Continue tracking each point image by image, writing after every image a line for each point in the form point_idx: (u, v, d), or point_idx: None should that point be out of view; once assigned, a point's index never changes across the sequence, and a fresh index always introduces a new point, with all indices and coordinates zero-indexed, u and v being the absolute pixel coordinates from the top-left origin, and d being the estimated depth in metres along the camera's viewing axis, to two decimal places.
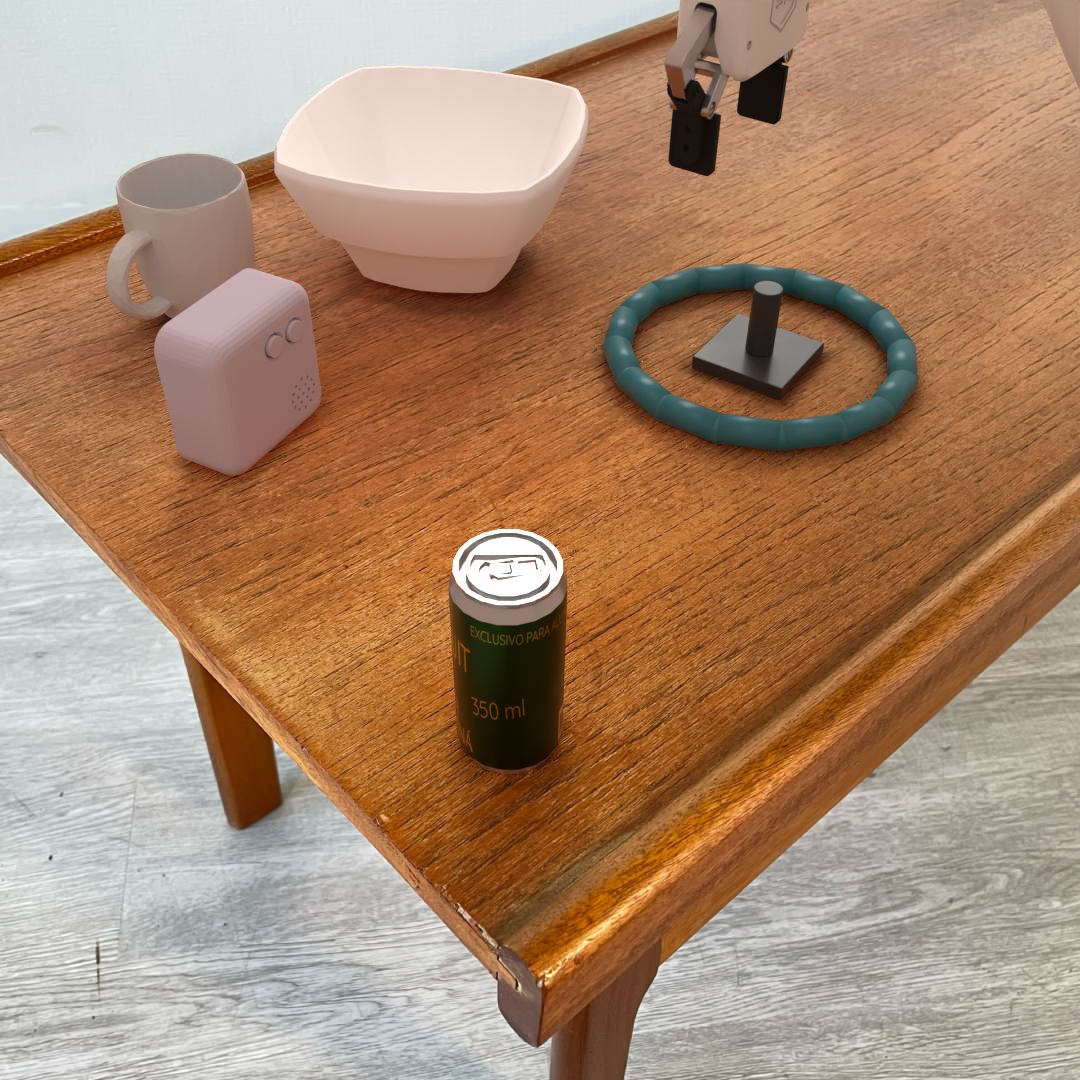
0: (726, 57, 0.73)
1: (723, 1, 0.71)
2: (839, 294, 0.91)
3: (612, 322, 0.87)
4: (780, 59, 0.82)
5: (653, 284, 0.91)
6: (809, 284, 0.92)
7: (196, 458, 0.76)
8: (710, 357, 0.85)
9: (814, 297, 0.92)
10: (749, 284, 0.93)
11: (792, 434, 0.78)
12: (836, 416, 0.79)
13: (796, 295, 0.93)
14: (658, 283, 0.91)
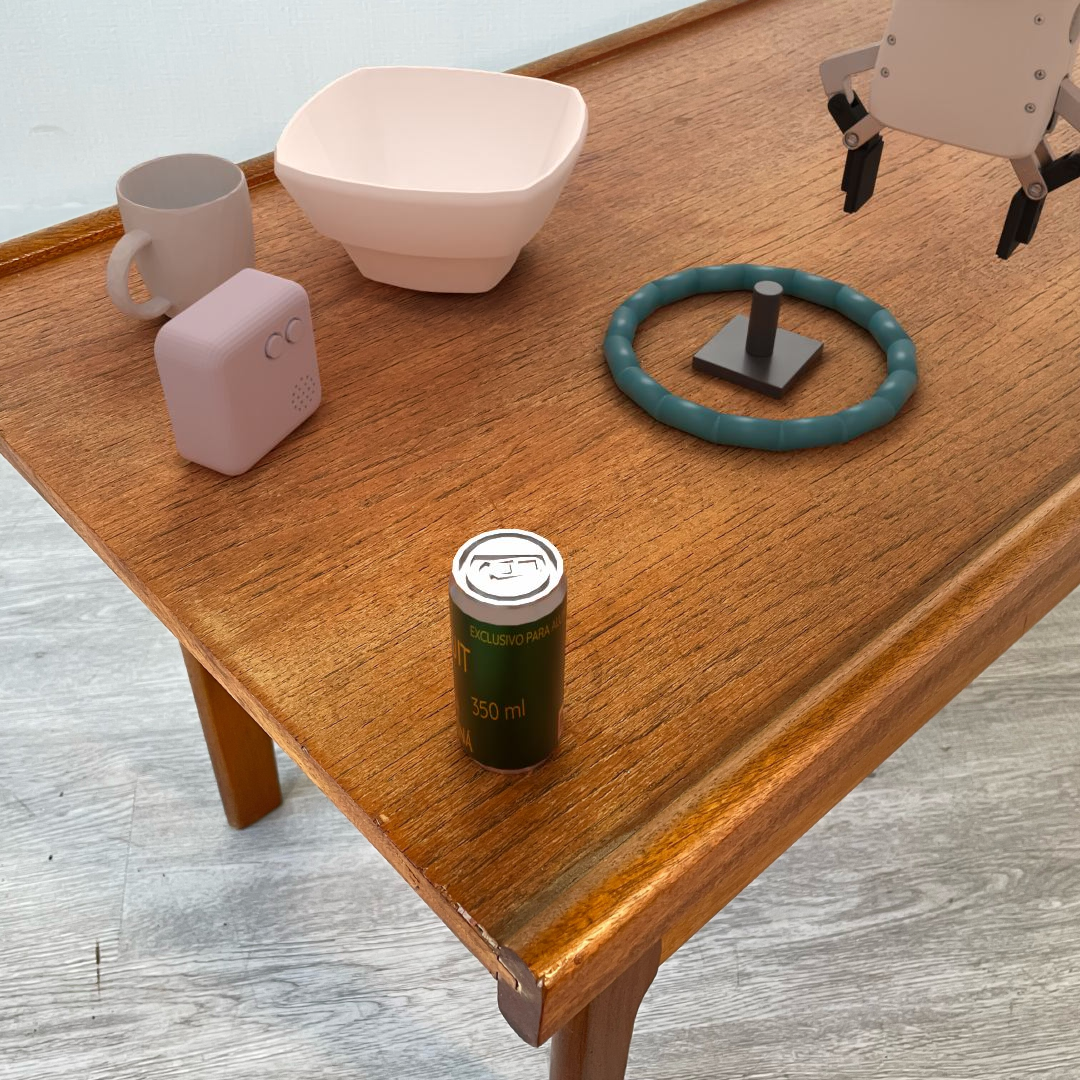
0: (1059, 115, 0.68)
1: (1073, 62, 0.65)
2: (839, 294, 0.91)
3: (612, 322, 0.87)
4: None
5: (653, 284, 0.91)
6: (809, 284, 0.92)
7: (196, 458, 0.76)
8: (710, 357, 0.85)
9: (814, 297, 0.92)
10: (749, 284, 0.93)
11: (792, 434, 0.78)
12: (836, 416, 0.79)
13: (796, 295, 0.93)
14: (658, 283, 0.91)
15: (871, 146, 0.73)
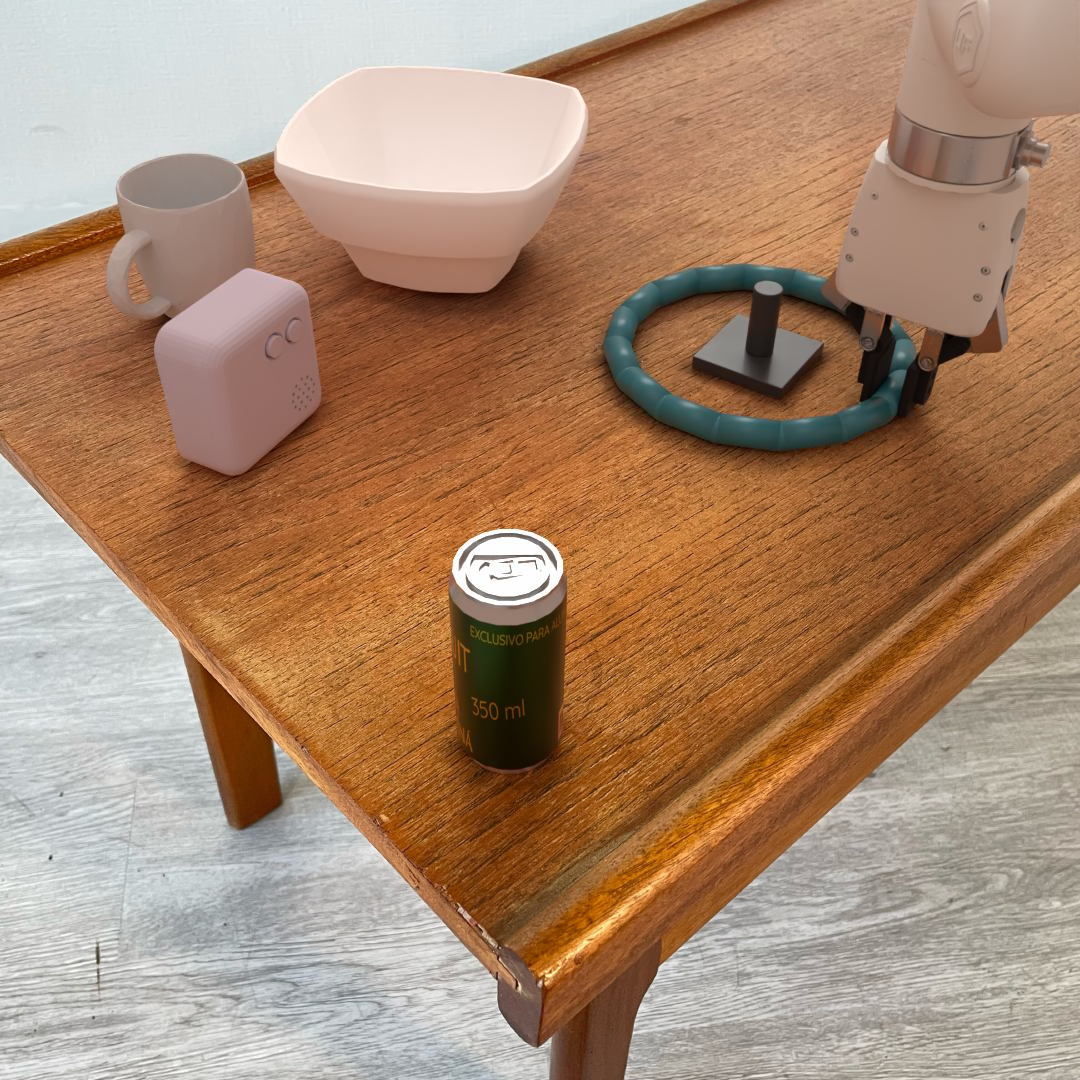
0: (1006, 296, 0.75)
1: (1016, 255, 0.73)
2: None
3: (612, 322, 0.87)
4: None
5: (653, 284, 0.91)
6: (809, 284, 0.92)
7: (196, 458, 0.76)
8: (710, 357, 0.85)
9: (814, 297, 0.92)
10: (749, 284, 0.93)
11: (792, 434, 0.78)
12: (836, 416, 0.79)
13: (796, 295, 0.93)
14: (658, 283, 0.91)
15: (885, 347, 0.80)
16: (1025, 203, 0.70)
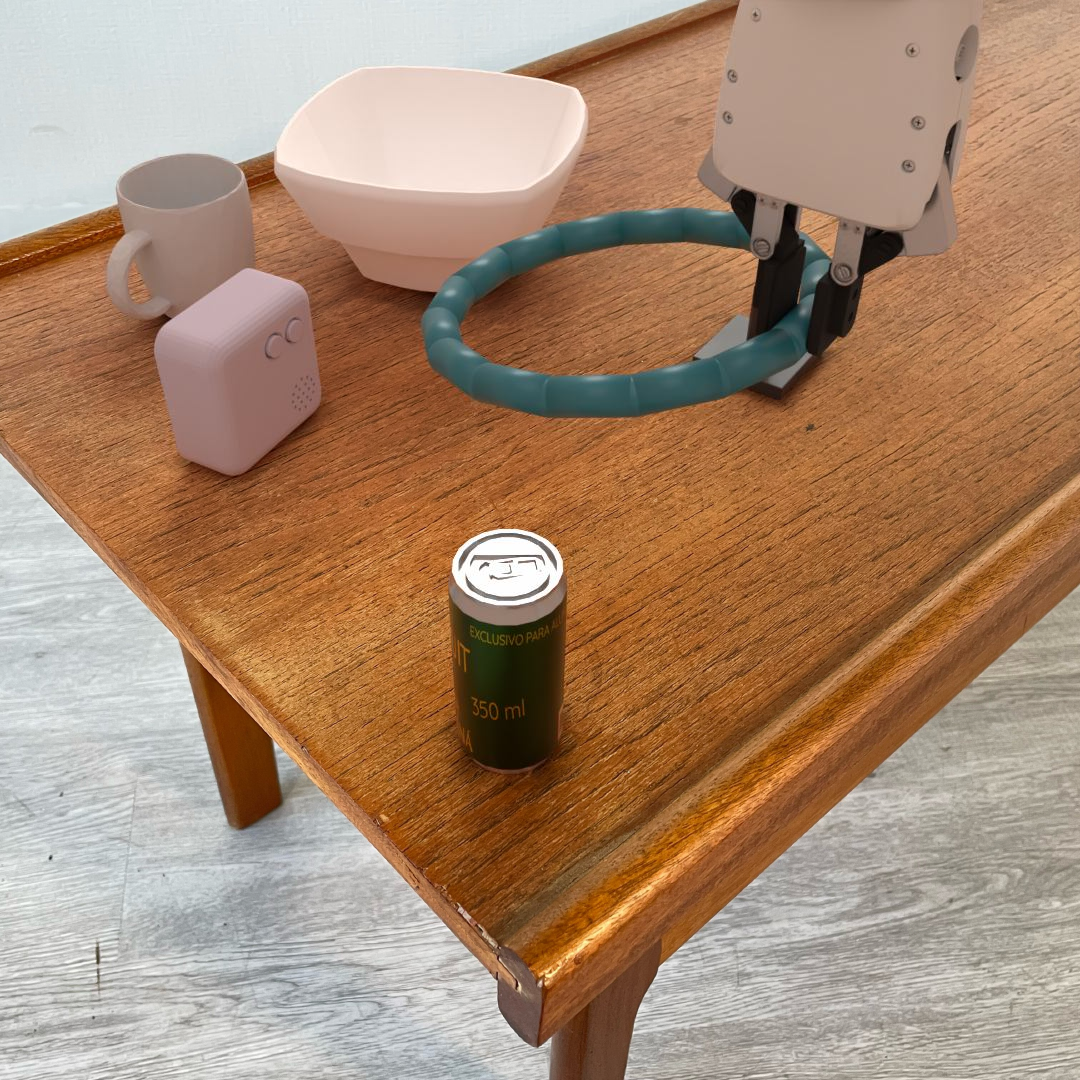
0: (955, 173, 0.52)
1: (967, 106, 0.49)
2: (741, 226, 0.68)
3: (435, 295, 0.67)
4: None
5: (498, 247, 0.70)
6: (703, 221, 0.70)
7: (196, 458, 0.76)
8: None
9: (712, 237, 0.70)
10: (629, 235, 0.72)
11: (647, 388, 0.55)
12: (712, 358, 0.56)
13: (691, 240, 0.71)
14: (505, 246, 0.70)
15: (788, 255, 0.57)
16: (977, 19, 0.47)
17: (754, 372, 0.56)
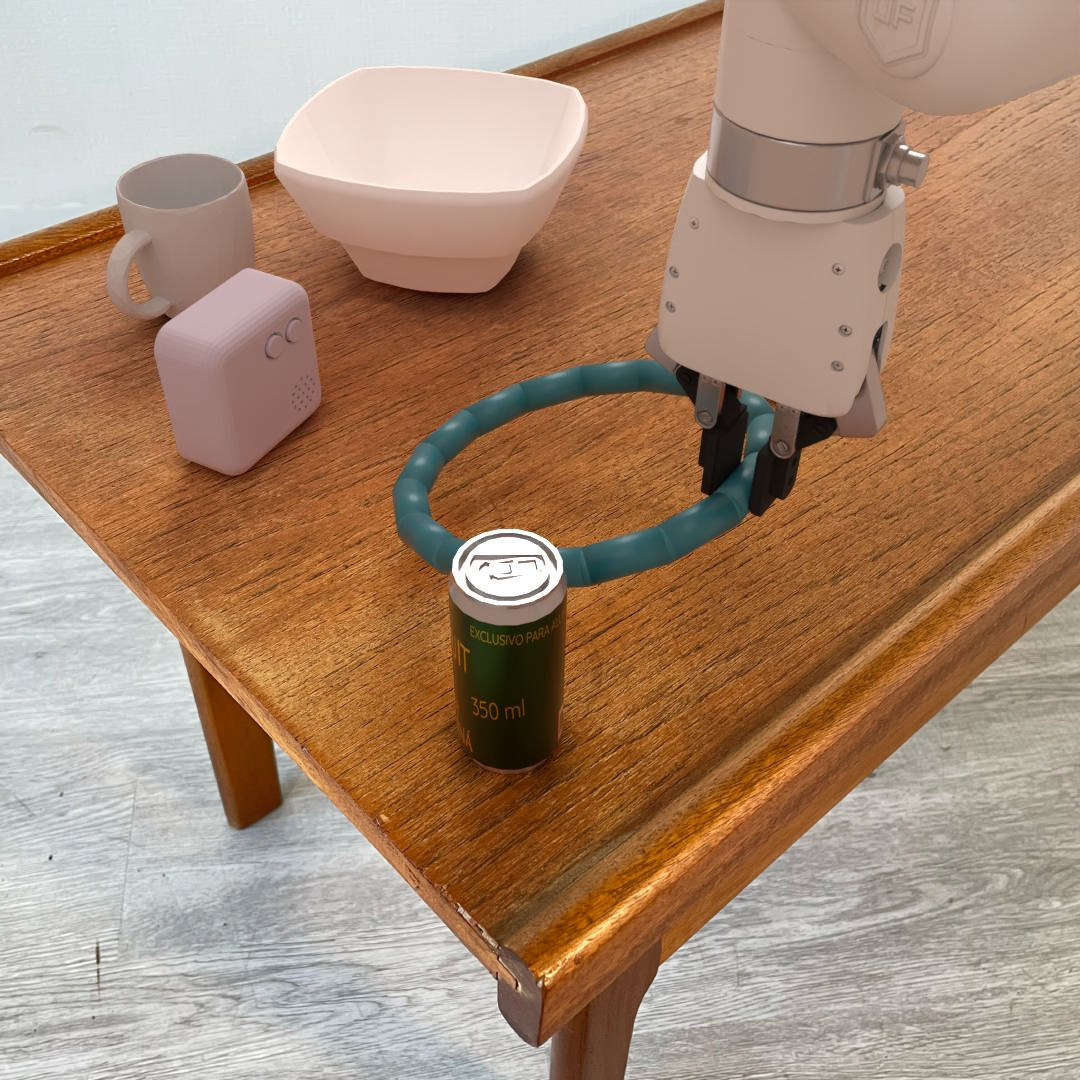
0: (884, 361, 0.55)
1: (892, 307, 0.52)
2: None
3: (406, 464, 0.71)
4: None
5: (465, 410, 0.74)
6: (657, 373, 0.73)
7: (196, 458, 0.76)
8: None
9: (666, 388, 0.73)
10: (590, 388, 0.75)
11: (596, 561, 0.58)
12: (657, 527, 0.59)
13: (648, 390, 0.74)
14: (471, 408, 0.74)
15: (730, 422, 0.60)
16: (899, 236, 0.50)
17: (698, 537, 0.59)
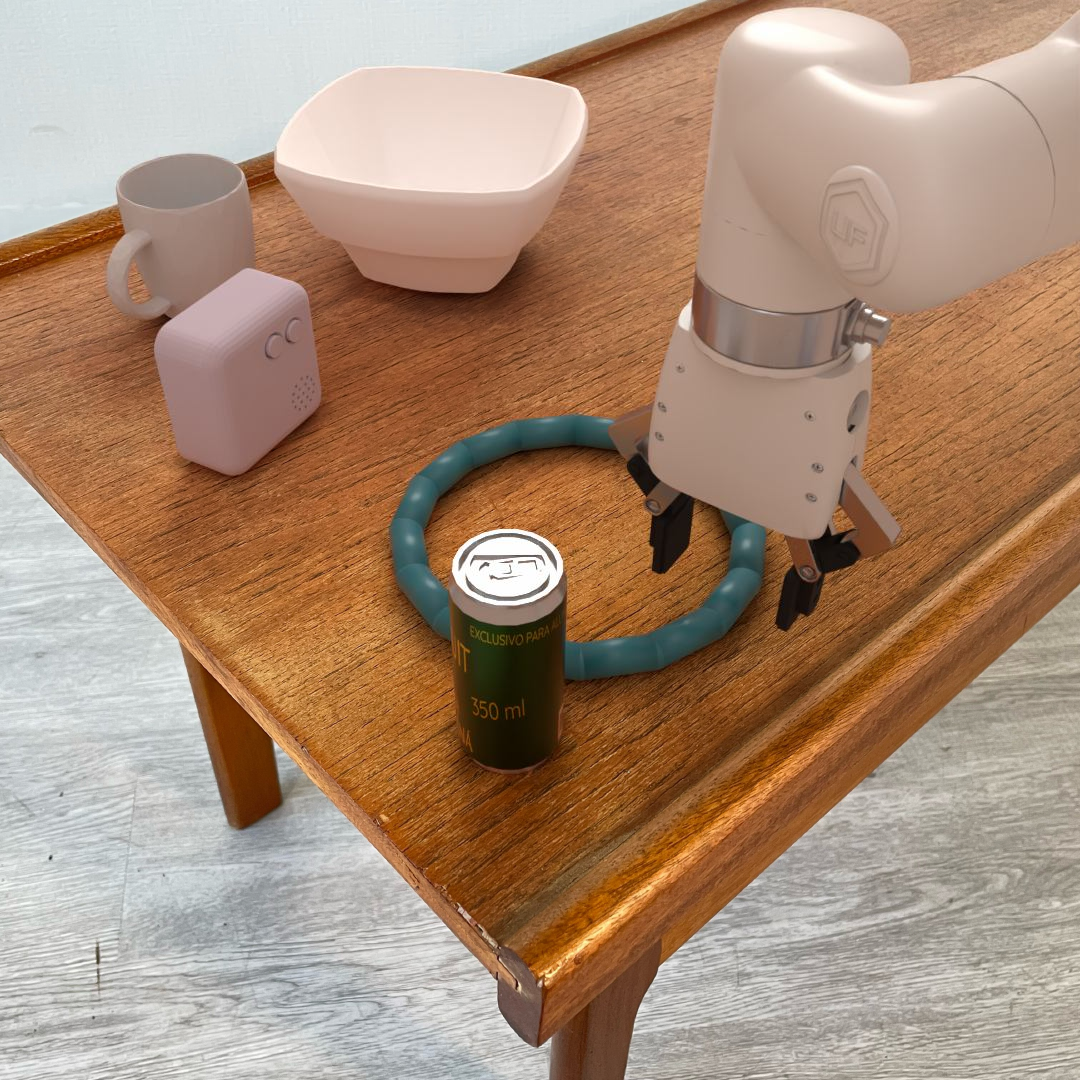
0: None
1: (862, 442, 0.57)
2: None
3: (404, 498, 0.73)
4: None
5: (462, 444, 0.76)
6: None
7: (196, 458, 0.76)
8: None
9: None
10: (582, 440, 0.78)
11: (593, 662, 0.63)
12: (651, 636, 0.64)
13: None
14: (469, 443, 0.76)
15: (677, 509, 0.65)
16: (866, 384, 0.55)
17: (685, 651, 0.64)
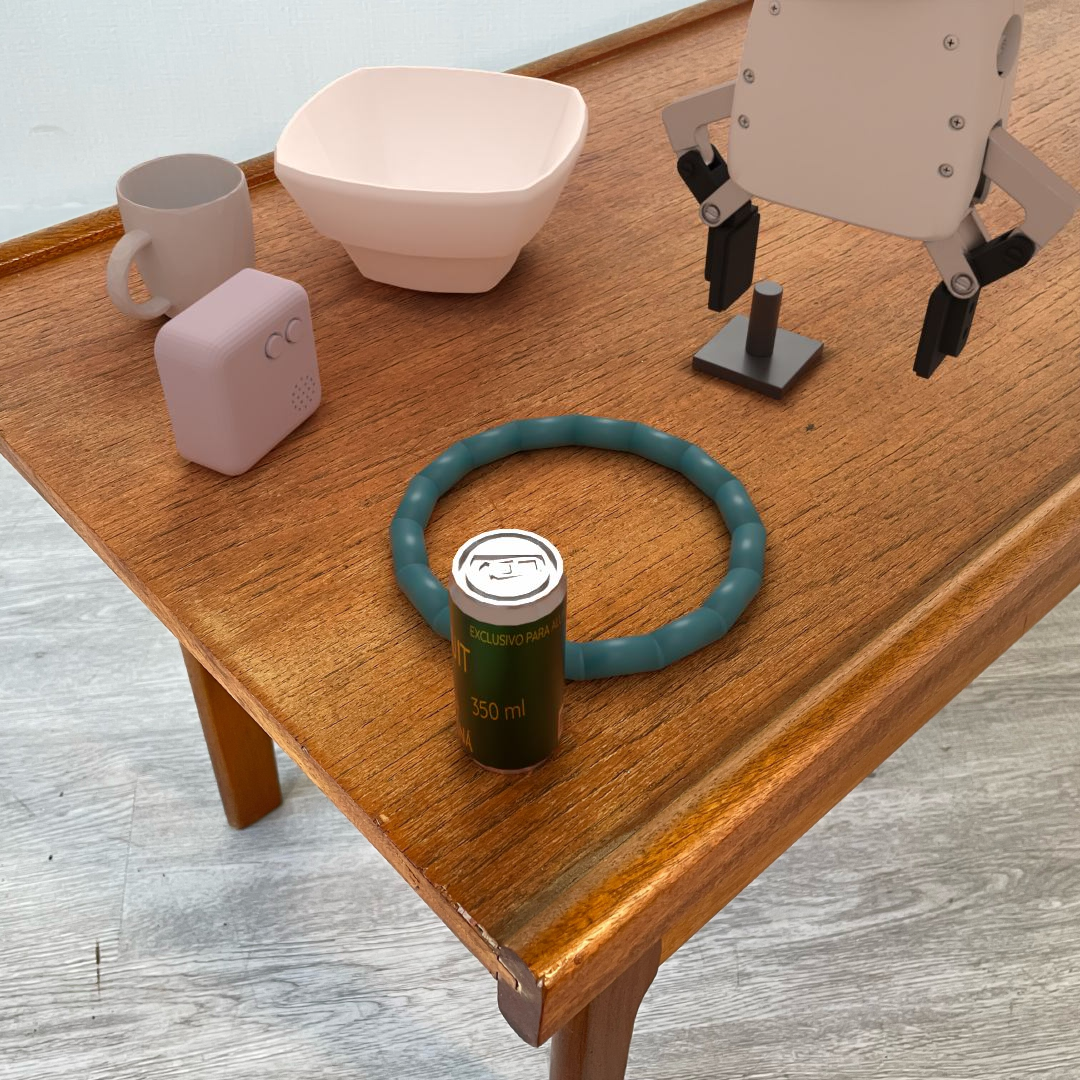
0: None
1: (1008, 103, 0.45)
2: (684, 457, 0.76)
3: (404, 498, 0.73)
4: None
5: (462, 444, 0.76)
6: (650, 443, 0.77)
7: (196, 458, 0.76)
8: (710, 357, 0.85)
9: (656, 458, 0.77)
10: (582, 440, 0.78)
11: (593, 662, 0.63)
12: (651, 636, 0.64)
13: (637, 453, 0.78)
14: (469, 443, 0.76)
15: (740, 221, 0.53)
16: (1020, 7, 0.42)
17: (685, 651, 0.64)
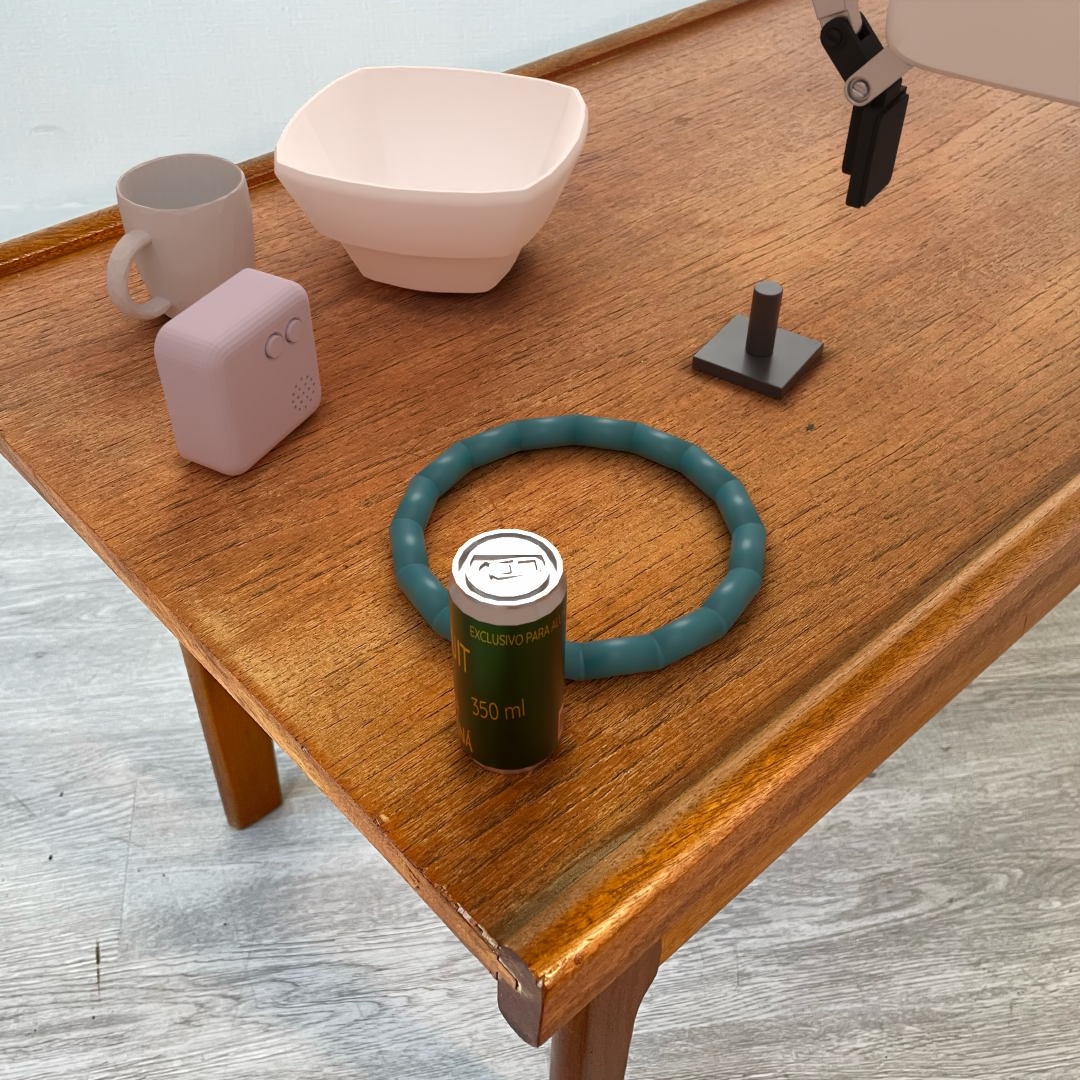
0: None
1: None
2: (684, 457, 0.76)
3: (404, 498, 0.73)
4: None
5: (462, 444, 0.76)
6: (650, 443, 0.77)
7: (196, 458, 0.76)
8: (710, 357, 0.85)
9: (656, 458, 0.77)
10: (582, 440, 0.78)
11: (593, 662, 0.63)
12: (651, 636, 0.64)
13: (637, 453, 0.78)
14: (469, 443, 0.76)
15: (889, 101, 0.46)
16: None
17: (685, 651, 0.64)
